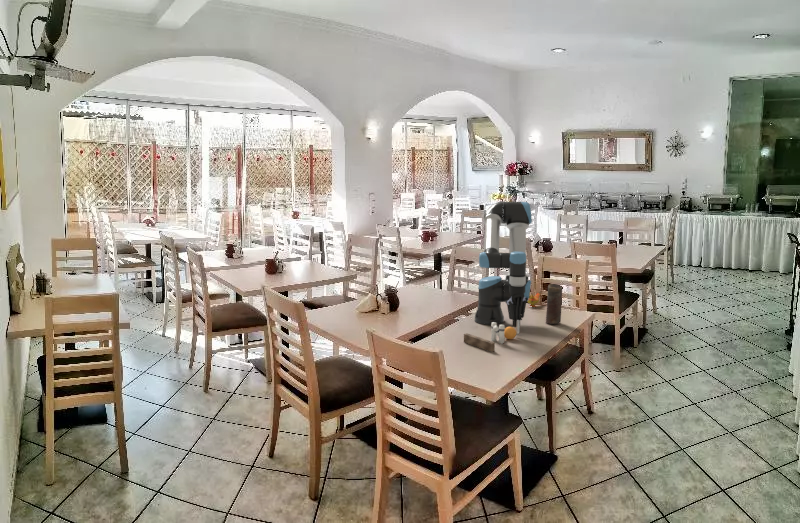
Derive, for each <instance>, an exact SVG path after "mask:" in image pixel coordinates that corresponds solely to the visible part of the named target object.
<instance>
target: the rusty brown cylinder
mask: <svg viewBox="0 0 800 523" xmlns="http://www.w3.org/2000/svg"><path fill="white" fill-rule="evenodd" d="M562 302H563V286H562V285H560V284H556V283H553V284H551V283H550V284H548V286H547V299H546V312H545V313H546V314H545V323H546V324H548V325H549V324H550V325H558V324H560V323H561V319H562Z"/></svg>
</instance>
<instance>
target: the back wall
mask: <svg viewBox="0 0 800 523" xmlns="http://www.w3.org/2000/svg"><path fill="white" fill-rule="evenodd" d="M464 342H465V344H467V343H468V344H467V345H470V344H471V345H470V346H473V345H474V346H473V347H475V346H477V347H476V348H478V347H479V349H481V348H483V349H482V350H484V349H485V350H484V351H486V350H488V351H487V352H489V351H491V352H490V353H493V352H492V351H494V352H495V349H496V348H495V345H496V343H495V341H491V340H488V339H485V338H483V337H479V336H476V335H473V334H470V333H464V334H463V343H464Z"/></svg>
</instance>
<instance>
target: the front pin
mask: <svg viewBox="0 0 800 523" xmlns="http://www.w3.org/2000/svg"><path fill="white" fill-rule="evenodd" d="M493 330H494V331H495V332H496V336H498V337H499V326H498V324H497V325H495V326H494V327H493ZM506 339H507V338H506V337H505V336H504V341H505V340H506Z"/></svg>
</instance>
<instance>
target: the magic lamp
mask: <svg viewBox="0 0 800 523" xmlns="http://www.w3.org/2000/svg"><path fill="white" fill-rule="evenodd" d="M541 294H542V292H541V291H538V292H537V293H536V294H535V295H533V294H531V293H530V294H529V299H528V301H527V302H526V303H528V304H529V305H530V306H532V307H536V308H537V304H538V303H540V301H539V300H540V296H541Z"/></svg>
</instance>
